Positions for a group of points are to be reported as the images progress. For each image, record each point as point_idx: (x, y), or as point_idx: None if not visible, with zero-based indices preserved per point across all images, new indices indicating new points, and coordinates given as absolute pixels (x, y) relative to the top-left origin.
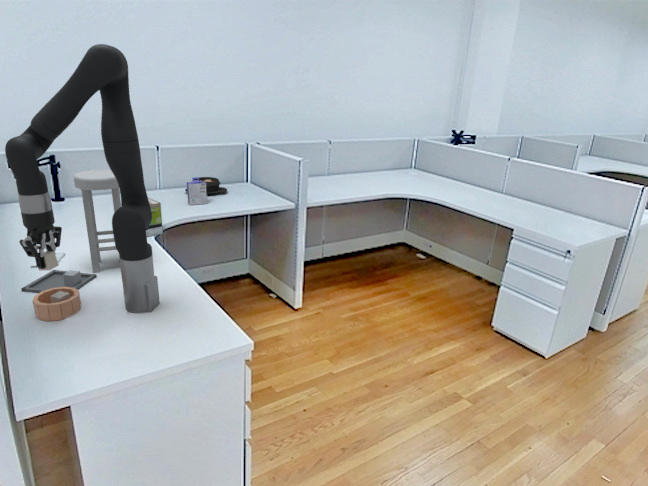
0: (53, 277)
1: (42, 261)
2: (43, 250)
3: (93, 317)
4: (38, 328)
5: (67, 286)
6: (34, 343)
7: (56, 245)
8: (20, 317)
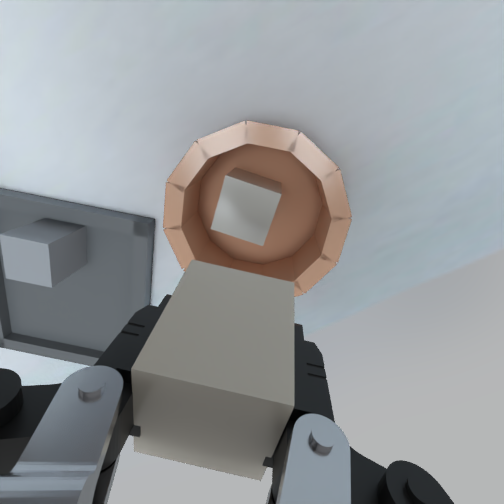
0: (35, 326)
1: (306, 377)
2: (287, 490)
3: (311, 32)
4: (384, 217)
5: (84, 255)
6: (496, 181)
7: (12, 407)
8: (303, 303)
